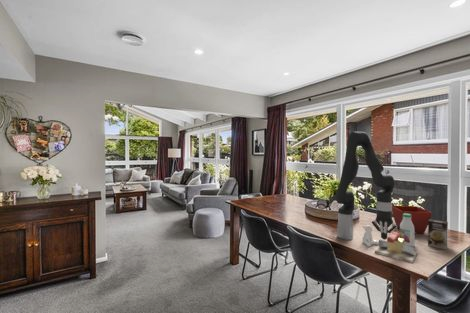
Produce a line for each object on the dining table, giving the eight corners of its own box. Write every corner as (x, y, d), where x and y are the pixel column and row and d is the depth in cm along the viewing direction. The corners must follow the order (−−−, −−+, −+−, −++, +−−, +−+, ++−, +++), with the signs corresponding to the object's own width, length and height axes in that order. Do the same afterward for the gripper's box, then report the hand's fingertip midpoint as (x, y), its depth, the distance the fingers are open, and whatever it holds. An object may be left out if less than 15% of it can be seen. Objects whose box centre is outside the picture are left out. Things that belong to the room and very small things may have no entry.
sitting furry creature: (368, 247, 146) (368, 228, 146) (357, 242, 154) (357, 224, 154) (380, 245, 148) (380, 226, 148) (368, 240, 157) (368, 223, 156)
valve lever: (393, 237, 139) (393, 231, 139) (400, 238, 136) (400, 233, 136) (386, 243, 128) (386, 238, 128) (394, 245, 126) (394, 239, 126)
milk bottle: (408, 242, 152) (408, 212, 152) (417, 247, 145) (417, 215, 145) (396, 242, 152) (396, 212, 152) (405, 247, 145) (405, 215, 144)
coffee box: (427, 245, 147) (427, 220, 147) (428, 243, 152) (428, 218, 151) (447, 249, 140) (447, 223, 140) (447, 246, 145) (447, 221, 145)
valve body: (377, 248, 140) (377, 236, 140) (381, 245, 145) (381, 234, 145) (412, 257, 128) (412, 244, 127) (415, 253, 132) (415, 241, 132)
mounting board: (374, 252, 137) (374, 250, 137) (382, 245, 148) (382, 243, 148) (412, 263, 124) (412, 260, 124) (417, 253, 135) (417, 251, 135)
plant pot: (432, 235, 165) (432, 212, 165) (402, 234, 169) (402, 211, 169) (417, 227, 184) (417, 206, 184) (390, 226, 188) (390, 205, 187)
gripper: (369, 208, 135) (369, 238, 135) (396, 212, 126) (396, 243, 126) (372, 206, 141) (373, 234, 141) (399, 209, 131) (399, 240, 131)
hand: (384, 239), depth 133 cm, fingers closed
